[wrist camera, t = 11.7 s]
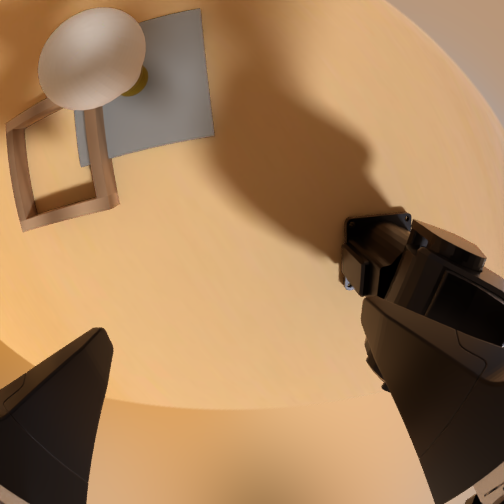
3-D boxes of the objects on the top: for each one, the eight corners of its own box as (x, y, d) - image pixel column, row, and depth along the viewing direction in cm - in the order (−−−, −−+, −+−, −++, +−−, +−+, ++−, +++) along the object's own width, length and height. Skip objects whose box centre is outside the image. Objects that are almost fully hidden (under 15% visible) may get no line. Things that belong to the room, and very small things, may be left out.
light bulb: (88, 99, 15) (1, 84, 6) (132, 38, 14) (68, -17, 5) (141, 133, 17) (62, 127, 8) (189, 67, 15) (150, 5, 6)
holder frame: (103, 80, 15) (93, 75, 14) (119, 204, 19) (110, 209, 18) (17, 123, 15) (5, 123, 14) (33, 226, 19) (22, 232, 18)
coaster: (200, 11, 14) (199, 8, 13) (214, 135, 18) (214, 135, 18) (76, 50, 14) (73, 49, 13) (83, 166, 18) (80, 167, 17)
